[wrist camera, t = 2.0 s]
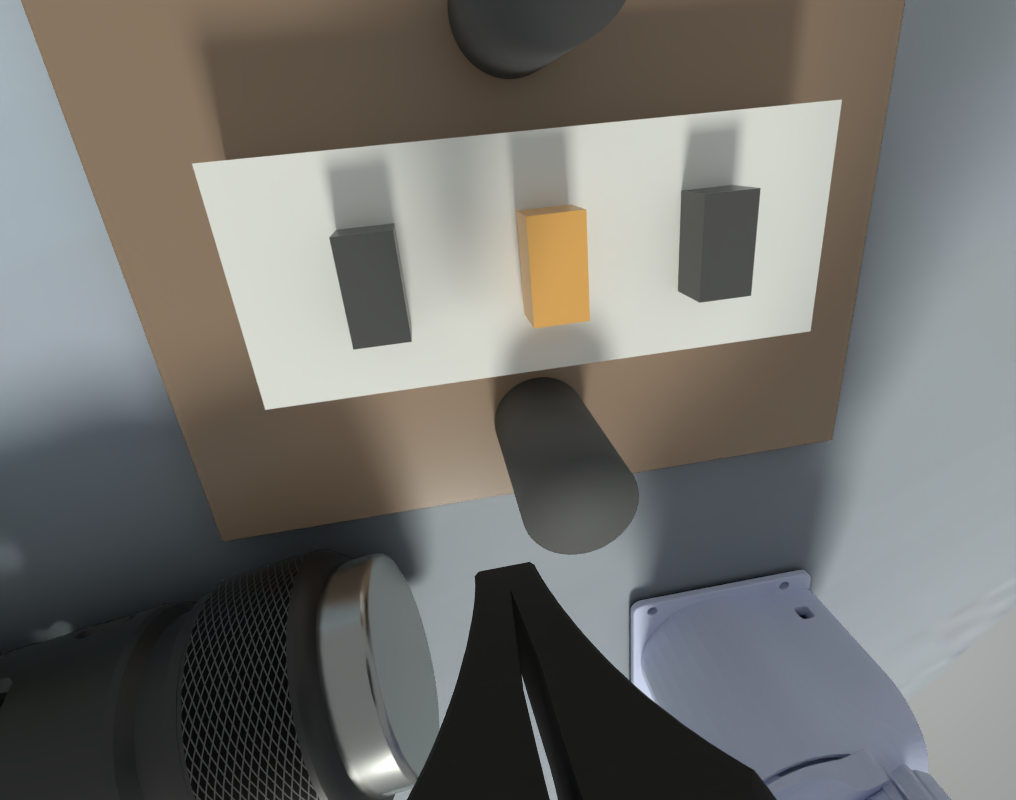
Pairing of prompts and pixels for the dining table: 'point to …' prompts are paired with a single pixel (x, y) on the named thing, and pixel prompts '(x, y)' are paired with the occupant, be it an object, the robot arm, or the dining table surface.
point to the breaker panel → (427, 91)
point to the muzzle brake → (231, 694)
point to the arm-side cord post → (563, 468)
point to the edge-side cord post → (525, 31)
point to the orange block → (554, 265)
